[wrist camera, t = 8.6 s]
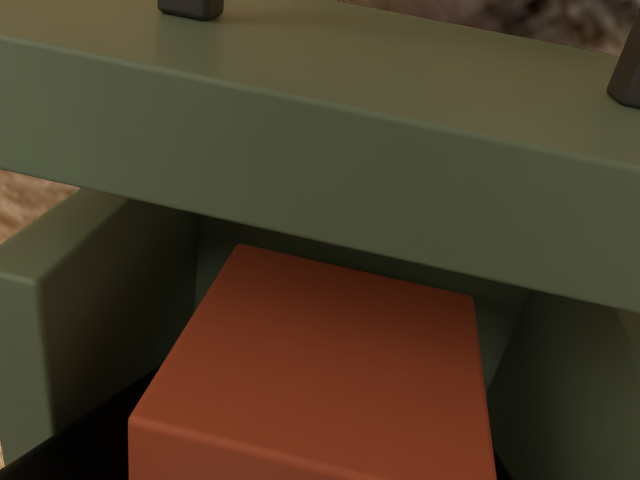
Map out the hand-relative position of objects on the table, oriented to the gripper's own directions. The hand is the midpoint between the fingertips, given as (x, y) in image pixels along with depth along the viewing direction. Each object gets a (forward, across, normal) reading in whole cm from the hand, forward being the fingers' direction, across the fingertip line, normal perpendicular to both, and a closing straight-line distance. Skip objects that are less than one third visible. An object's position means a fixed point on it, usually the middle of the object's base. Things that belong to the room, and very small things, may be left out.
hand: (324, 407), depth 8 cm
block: (+1, 0, 0) cm, 1 cm away
